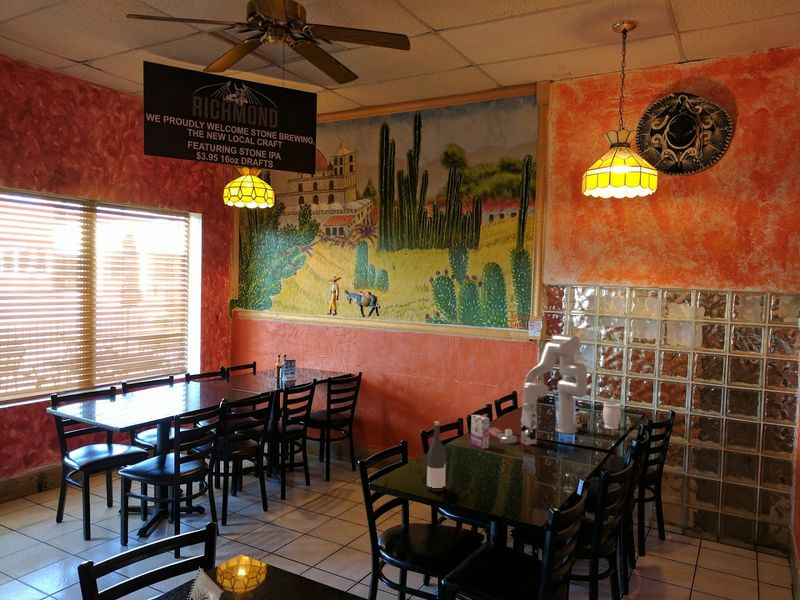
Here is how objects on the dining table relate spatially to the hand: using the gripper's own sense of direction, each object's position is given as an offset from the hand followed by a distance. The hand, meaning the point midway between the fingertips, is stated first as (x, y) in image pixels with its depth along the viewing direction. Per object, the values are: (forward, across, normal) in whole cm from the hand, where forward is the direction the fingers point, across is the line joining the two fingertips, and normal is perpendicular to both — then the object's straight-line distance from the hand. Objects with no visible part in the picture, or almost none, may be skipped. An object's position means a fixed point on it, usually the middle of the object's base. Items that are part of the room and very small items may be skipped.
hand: (528, 437), depth 331 cm
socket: (+4, 0, 0) cm, 4 cm away
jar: (+2, +17, -67) cm, 70 cm away
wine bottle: (+6, -52, +74) cm, 91 cm away
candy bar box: (+4, +2, +28) cm, 29 cm away
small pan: (+4, +14, +9) cm, 17 cm away
